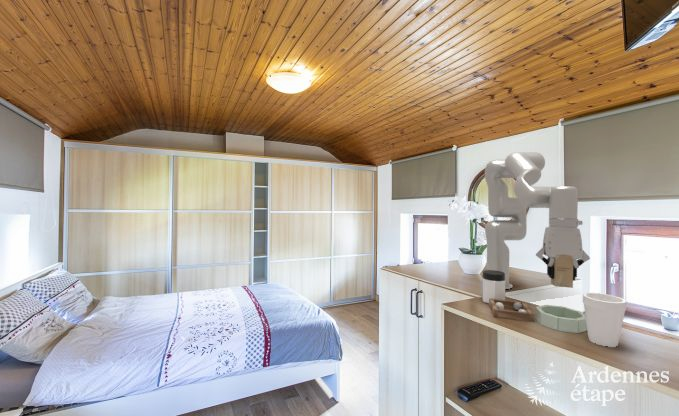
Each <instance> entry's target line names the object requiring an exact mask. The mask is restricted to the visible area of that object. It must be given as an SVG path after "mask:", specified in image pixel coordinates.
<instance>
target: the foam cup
mask: <svg viewBox="0 0 679 416" xmlns="http://www.w3.org/2000/svg"><path fill="white" fill-rule="evenodd" d="M582 303H583V308H584V314H585V316H586V323H587V336H588V340H589V341H590V342H591V343H593V344H595V343H596V345H598V346H601V345H602V346H601V347H605V346H608V347H607V348H616V346H617V347H618V345H619V341H620V337H621V332H622V328H623V324H624V323H623V322H624V317H625V314H626V310H627V300H625V299H624V298H622V297H620V296H615V295H612V294H609V293H607V294H606V293H601V292H585V293H582Z"/></svg>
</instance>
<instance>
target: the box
mask: <svg viewBox="0 0 679 416" xmlns="http://www.w3.org/2000/svg"><path fill="white" fill-rule="evenodd" d="M553 267H554V279H551V278H550V284H551V285H553V286H554V287H556V288H557V287H559V288H560V287H561V288H570V289H572V288H574V280H573V255H565V254H556V257H555V260H554V263H553Z"/></svg>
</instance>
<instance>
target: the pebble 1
mask: <svg viewBox="0 0 679 416" xmlns="http://www.w3.org/2000/svg"><path fill="white" fill-rule="evenodd" d="M495 305H496V307H497V309H500V310H505V308H504V305H503V304H502V303H500V302H497V303H496V304H495Z"/></svg>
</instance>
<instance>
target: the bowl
mask: <svg viewBox="0 0 679 416" xmlns="http://www.w3.org/2000/svg"><path fill="white" fill-rule="evenodd" d="M535 319H536V321H537V323H539V324H540V325H541V326H544V327H546V328H549V329H552V330H554V331H558V332H566V333H574V334H580V333H583V332H586V331H587V323H586V316H585V313H583V312H582V311H580V310H577V309H574V308H570V307H566V306H563V305H562V306H561V305H552V304H551V305H550V304H543V305H538V306H536V307H535ZM587 332H588V331H587Z"/></svg>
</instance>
